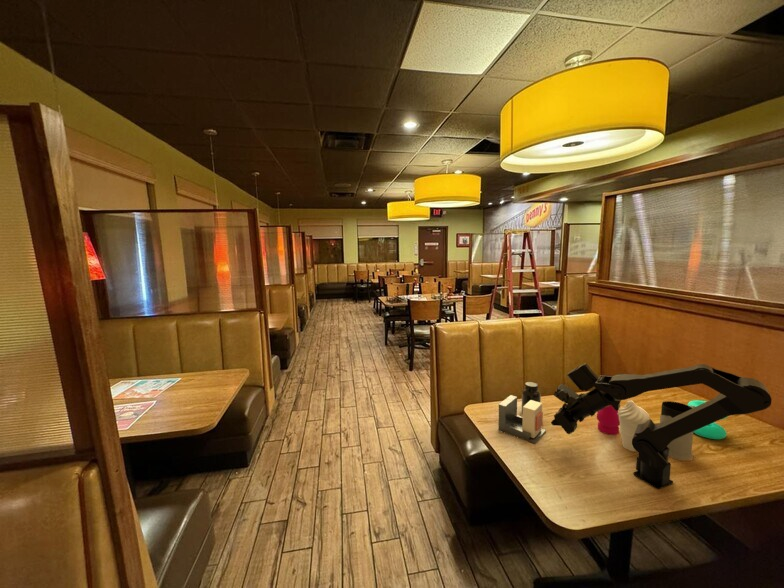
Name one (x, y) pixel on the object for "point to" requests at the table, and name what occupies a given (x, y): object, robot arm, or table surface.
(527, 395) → the supplement bottle
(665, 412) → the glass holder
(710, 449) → the table surface
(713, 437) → the donuts
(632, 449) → the soft serve ice cream cone
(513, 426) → the press stand
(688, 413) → the robot arm
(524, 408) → the cream block orange label
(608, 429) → the pepper mill
